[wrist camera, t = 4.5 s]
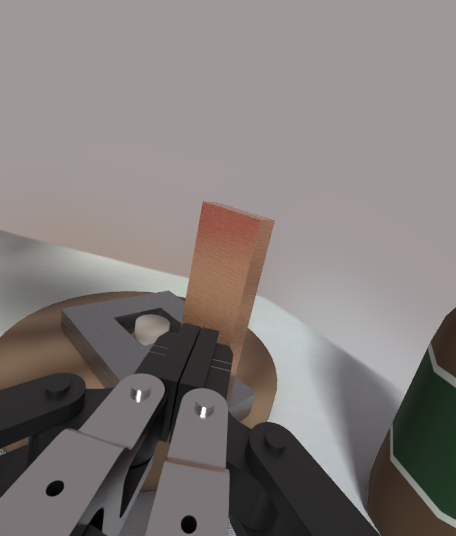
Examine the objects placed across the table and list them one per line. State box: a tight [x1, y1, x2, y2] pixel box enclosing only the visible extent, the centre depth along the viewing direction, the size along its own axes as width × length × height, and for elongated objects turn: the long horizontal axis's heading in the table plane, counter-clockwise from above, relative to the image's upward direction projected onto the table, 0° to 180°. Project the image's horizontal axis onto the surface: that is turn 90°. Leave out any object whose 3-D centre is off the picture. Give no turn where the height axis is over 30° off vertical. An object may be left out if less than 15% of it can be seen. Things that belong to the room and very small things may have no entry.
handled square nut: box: [61, 201, 274, 422], centre depth 24 cm, size 17×11×14 cm
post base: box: [0, 291, 277, 491], centre depth 27 cm, size 24×24×6 cm
